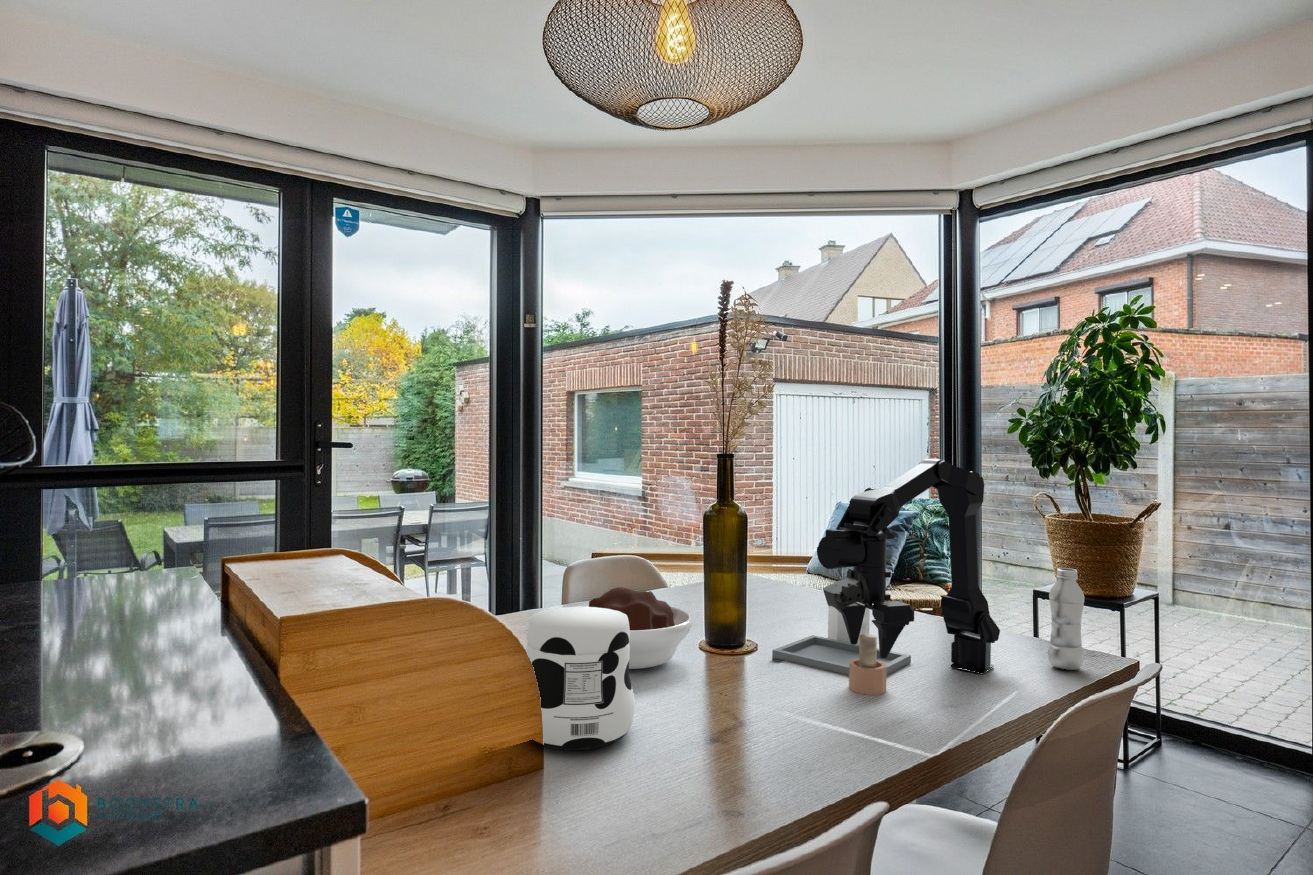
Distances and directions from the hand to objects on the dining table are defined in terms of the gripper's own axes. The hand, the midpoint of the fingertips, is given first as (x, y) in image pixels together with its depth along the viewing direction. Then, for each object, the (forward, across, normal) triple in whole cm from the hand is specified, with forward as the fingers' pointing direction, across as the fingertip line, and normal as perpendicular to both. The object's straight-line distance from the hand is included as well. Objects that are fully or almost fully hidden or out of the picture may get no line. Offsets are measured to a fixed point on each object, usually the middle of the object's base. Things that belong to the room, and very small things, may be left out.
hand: (868, 650), depth 139 cm
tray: (+7, -17, +5) cm, 19 cm away
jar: (+8, -30, +15) cm, 34 cm away
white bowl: (+8, -29, -36) cm, 47 cm away
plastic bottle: (+8, 0, +47) cm, 48 cm away
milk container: (+7, +5, -55) cm, 56 cm away
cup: (+7, 0, 0) cm, 7 cm away
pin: (+7, 0, 0) cm, 7 cm away
